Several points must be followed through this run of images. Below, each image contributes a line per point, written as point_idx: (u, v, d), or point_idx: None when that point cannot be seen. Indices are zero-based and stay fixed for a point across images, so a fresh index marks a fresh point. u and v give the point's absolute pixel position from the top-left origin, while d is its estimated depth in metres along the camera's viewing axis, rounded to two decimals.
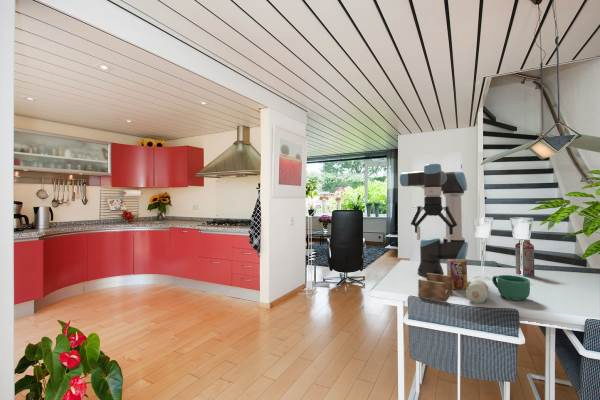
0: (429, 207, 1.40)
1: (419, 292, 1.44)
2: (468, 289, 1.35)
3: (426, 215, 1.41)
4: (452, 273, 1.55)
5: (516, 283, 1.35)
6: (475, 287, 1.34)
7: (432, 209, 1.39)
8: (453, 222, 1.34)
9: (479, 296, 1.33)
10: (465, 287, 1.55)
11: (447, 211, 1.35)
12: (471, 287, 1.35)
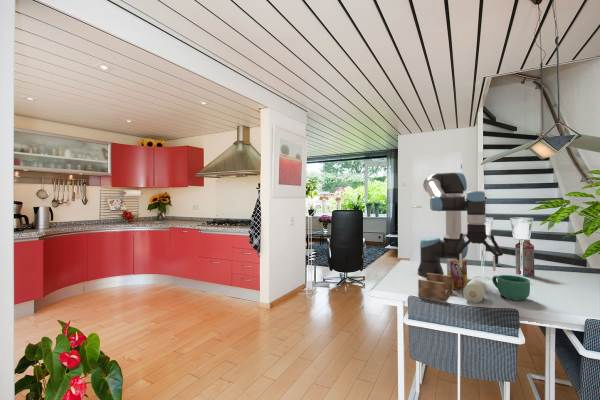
0: (473, 235, 1.39)
1: (419, 292, 1.44)
2: (464, 290, 1.36)
3: (469, 242, 1.40)
4: (452, 273, 1.55)
5: (516, 283, 1.35)
6: (470, 287, 1.35)
7: (476, 237, 1.38)
8: (499, 251, 1.32)
9: (476, 295, 1.33)
10: None
11: (492, 240, 1.34)
12: (466, 288, 1.36)
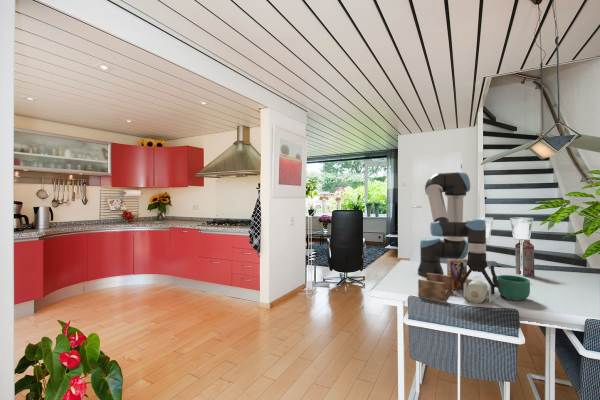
0: (473, 262, 1.39)
1: (419, 292, 1.44)
2: (467, 290, 1.36)
3: None
4: (452, 273, 1.55)
5: (516, 283, 1.35)
6: (473, 287, 1.34)
7: (476, 265, 1.38)
8: (496, 282, 1.33)
9: (478, 295, 1.33)
10: None
11: (492, 270, 1.34)
12: (469, 287, 1.35)
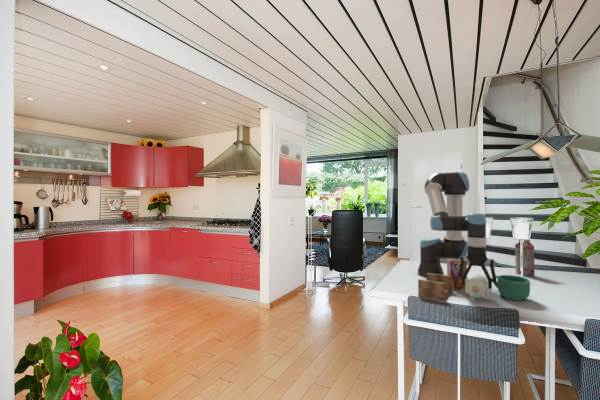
0: (472, 256, 1.39)
1: (419, 292, 1.44)
2: (468, 284, 1.36)
3: (471, 265, 1.40)
4: (452, 273, 1.55)
5: (516, 283, 1.35)
6: (475, 282, 1.34)
7: (476, 259, 1.38)
8: (493, 277, 1.34)
9: (479, 291, 1.33)
10: None
11: (491, 265, 1.34)
12: (471, 282, 1.35)
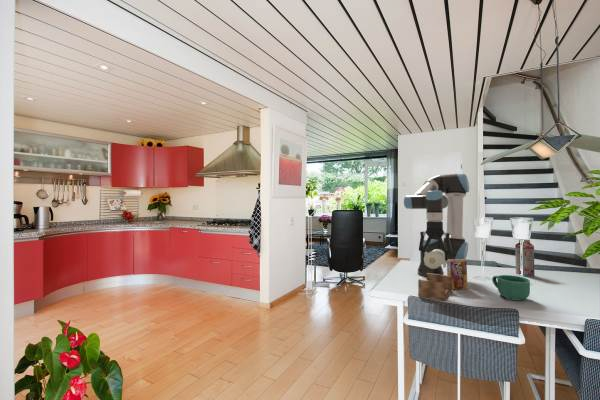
0: (431, 230, 1.48)
1: (419, 292, 1.44)
2: (426, 256, 1.45)
3: (430, 239, 1.49)
4: (452, 273, 1.55)
5: (516, 283, 1.35)
6: (432, 253, 1.43)
7: (434, 233, 1.47)
8: (449, 249, 1.43)
9: (435, 262, 1.42)
10: (465, 287, 1.55)
11: (447, 237, 1.43)
12: (428, 254, 1.44)
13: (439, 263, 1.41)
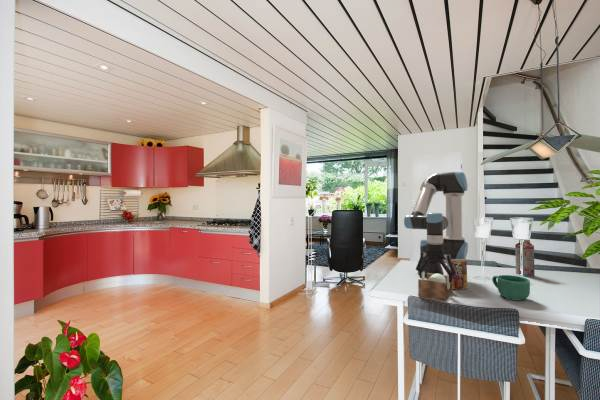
0: (431, 253, 1.48)
1: (419, 292, 1.44)
2: None
3: (429, 261, 1.49)
4: None
5: (516, 283, 1.35)
6: (432, 279, 1.43)
7: (434, 256, 1.47)
8: (452, 271, 1.42)
9: None
10: (465, 287, 1.55)
11: (448, 260, 1.43)
12: (429, 280, 1.44)
13: None
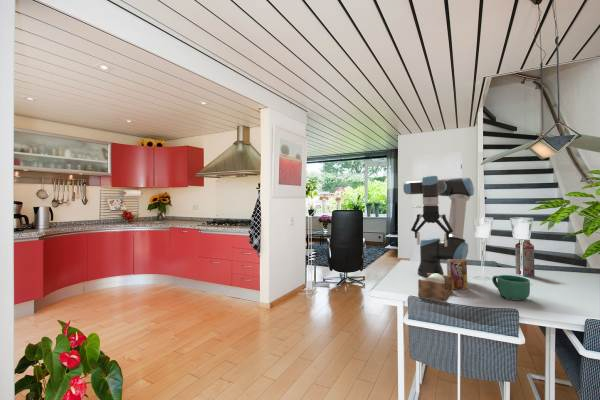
0: (427, 215, 1.54)
1: (419, 292, 1.44)
2: None
3: (425, 222, 1.56)
4: (452, 273, 1.55)
5: (516, 283, 1.35)
6: (429, 279, 1.44)
7: (430, 217, 1.54)
8: (449, 229, 1.48)
9: None
10: (465, 287, 1.55)
11: (444, 219, 1.50)
12: None
13: None
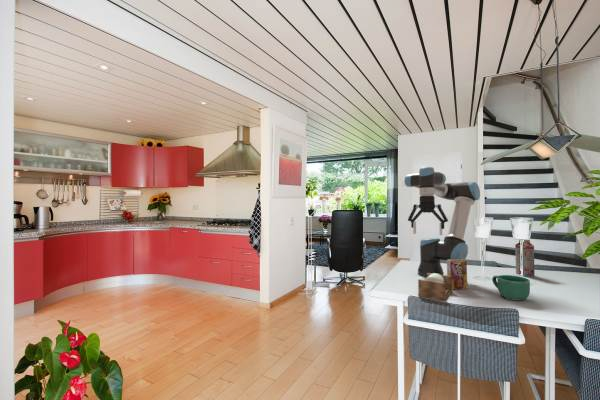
0: (424, 205, 1.60)
1: (419, 292, 1.44)
2: None
3: (421, 212, 1.61)
4: (452, 273, 1.55)
5: (516, 283, 1.35)
6: (428, 279, 1.44)
7: (426, 207, 1.59)
8: (444, 218, 1.53)
9: None
10: (465, 287, 1.55)
11: (439, 208, 1.55)
12: None
13: None
